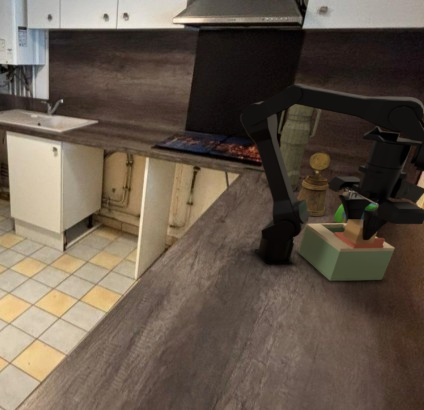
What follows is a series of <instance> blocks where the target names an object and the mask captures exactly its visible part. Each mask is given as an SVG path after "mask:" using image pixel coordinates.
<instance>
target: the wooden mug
mask: <svg viewBox="0 0 424 410" xmlns="http://www.w3.org/2000/svg"><path fill="white" fill-rule="evenodd" d="M331 164H332V159H331V156H330V155H329V153H327V152H326V151H324V150H320V151H317V152H315V153H313V154H311V156H310V157H309V159H308V166H309V167H310V169H311V170H312V171H311V175H306V177H305V178H304V179H303V181H302V183H301V189H300V191H299V193H298V195H297V197H296V198H297V199H298V200H299V201H301V200H304V199H305V200H306V204H307V209H308V211H309V213H310V214H311V215H310V216H309V217H311V216H312V217H321V216H322V217H323V216H324V215H325V214H326V213H325V212H326V206H325V205H326V197H327V196H326V195H327V190H328V189H329V188H328V187H329V179H328V178H326V177H323V176H322V173H323V171H326V170H327V169H329V168H330V166H331Z"/></svg>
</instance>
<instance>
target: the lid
mask: <svg viewBox="0 0 424 410" xmlns="http://www.w3.org/2000/svg"><path fill="white" fill-rule="evenodd" d="M346 224H347V223H338V222H335V223H333V222H332V223H325V222H324V223H307V224H306V226H305V228H306V227H307V228H309V229H310V230H311V231H313V232H314V233H315V234H317V235H318V236H319V237H321V238H322V239H323V240H325V241H326V242H327V243H329V244H330V245H331V246H333V247H334V248H335V249H337V250H338V251H339V252H351V251H354V252H355V251H393V252H395V248H396V247H394V246H393V245H391V244H389V243H388V242H386V241H384V243H383V246H384V247H383V248H352V247H351V246H350V245H348V244H347V243H345V242H344V241H342V240H341V239H340V238H338V237H337V236H335V235H334V233H332V232H331V231H329V230H328V229H327V228H325V227H343V228H345V227H346ZM375 238H379V237H378V236H376V237H375Z"/></svg>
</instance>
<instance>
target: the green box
mask: <svg viewBox="0 0 424 410" xmlns="http://www.w3.org/2000/svg"><path fill="white" fill-rule="evenodd" d="M325 228H327V229H328V230H329V231H331V232H332V233H334V232H344V230H345V228H343V227H325ZM298 254H299V255H300V256H302V257H303V258H304V259H305V260H306V261H307V262H308V263H309V264H311V266H313V268H315V269H316V270H317V271H318V272H319V273H320V274H322V275H323V277H325V278H326V279H327V280H328V281H330V282H333V281H336V282H337V281H340V282H341V281H383V278H384V276H385V274H386V271H387V269H388V267H389V264H390V261H391V259H392V256H393V254H394V251H355V252H354V251H351V252H339V251H338V250H337V249H335V248H334V247H333V246H331V245H330V244H329V243H327V242H326V241H325V240H323V239H322V238H321V237H319V236H318V235H317V234H315V233H314V232H313V231H311V230H310V229H309V228H307V227H306V226H305V227H304V231H303V235H302V239H301V243H300V246H299V250H298Z"/></svg>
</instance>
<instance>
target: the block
mask: <svg viewBox="0 0 424 410" xmlns="http://www.w3.org/2000/svg"><path fill="white" fill-rule="evenodd" d="M362 232H363V219H348V221H347V224H346V227H345V230H344V233H343V235H344V236H345V237H347V238H348V239H349V240H351V241H352V242H354V243H355V244H373V242H374V239H375V237H377V235H378V232H379V230H378V231H377V232H376V233H375V234H374V235H373V236H372V237H371V238H370V239H369V240H363V234H362Z"/></svg>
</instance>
